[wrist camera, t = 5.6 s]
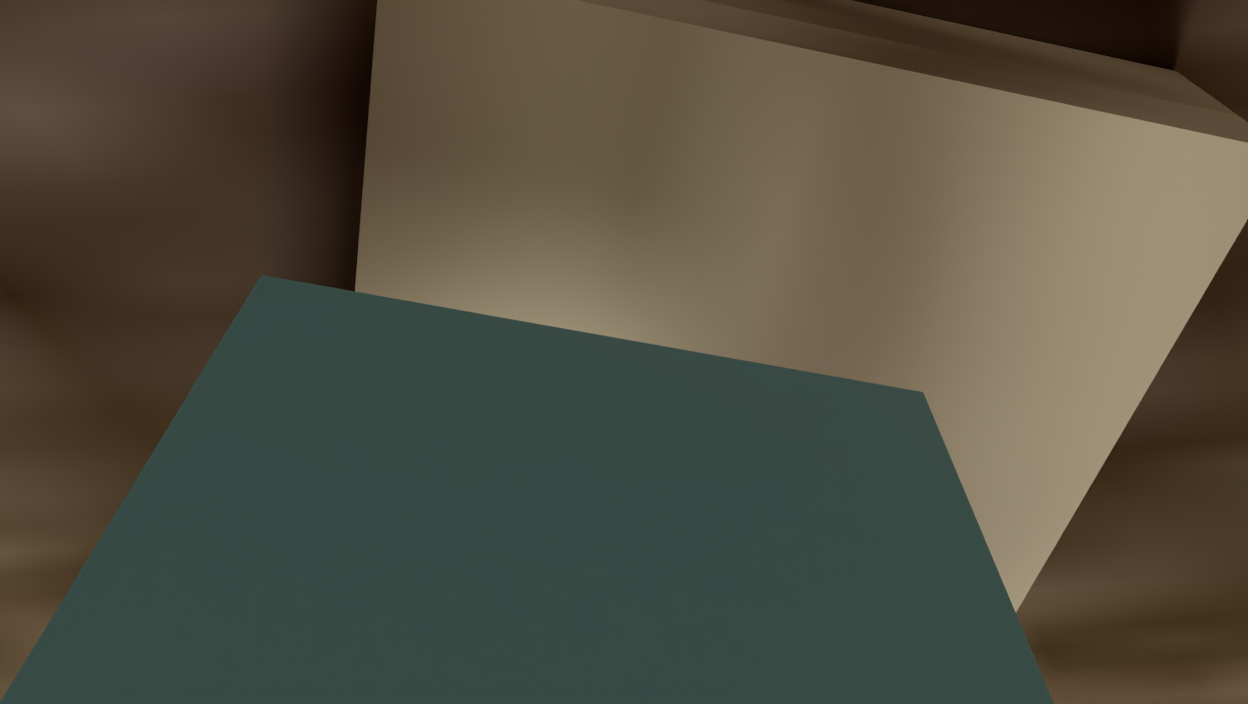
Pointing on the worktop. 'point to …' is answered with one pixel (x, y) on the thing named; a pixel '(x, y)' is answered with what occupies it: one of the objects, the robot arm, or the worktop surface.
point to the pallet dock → (816, 209)
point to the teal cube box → (529, 530)
